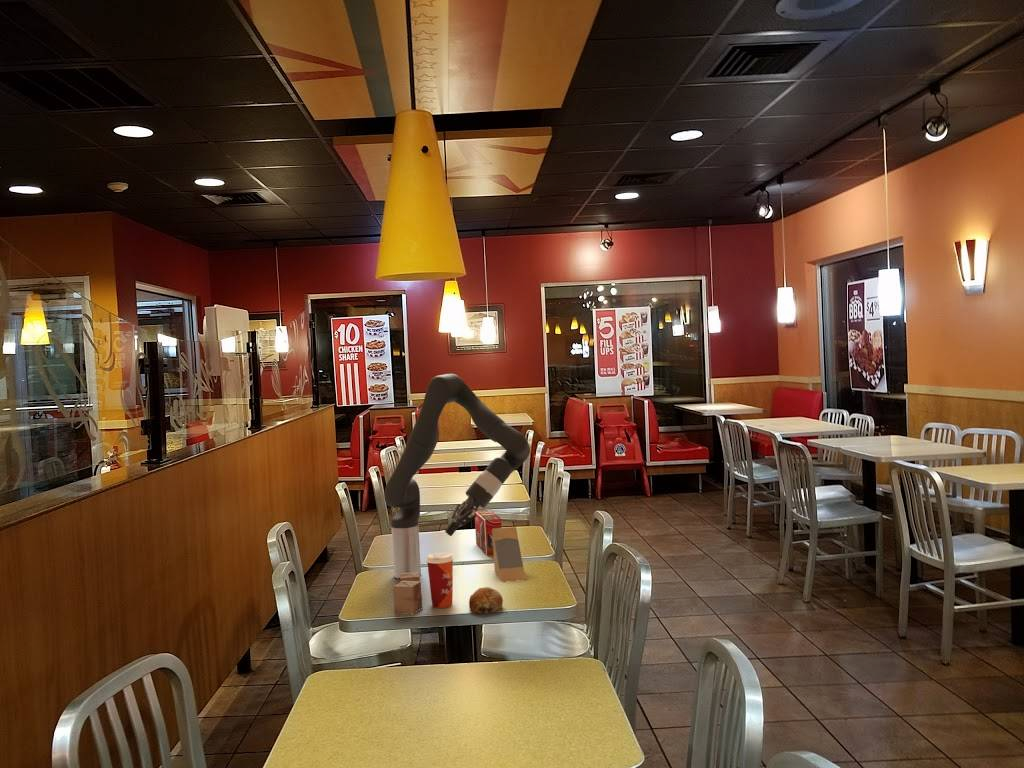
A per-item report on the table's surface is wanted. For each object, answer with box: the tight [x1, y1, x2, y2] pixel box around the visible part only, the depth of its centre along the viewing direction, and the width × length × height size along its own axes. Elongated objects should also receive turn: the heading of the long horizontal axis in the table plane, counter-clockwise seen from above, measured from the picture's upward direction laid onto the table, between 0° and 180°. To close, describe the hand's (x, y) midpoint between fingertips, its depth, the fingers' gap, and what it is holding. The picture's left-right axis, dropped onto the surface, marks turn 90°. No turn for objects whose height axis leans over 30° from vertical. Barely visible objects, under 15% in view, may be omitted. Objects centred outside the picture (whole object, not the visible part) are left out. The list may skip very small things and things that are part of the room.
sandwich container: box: [492, 526, 527, 583], centre depth 275 cm, size 9×15×15 cm, turn 10°
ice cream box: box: [474, 509, 503, 556], centre depth 316 cm, size 20×6×13 cm, turn 13°
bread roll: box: [468, 586, 504, 614], centre depth 240 cm, size 10×10×8 cm
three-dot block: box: [393, 580, 423, 614], centre depth 242 cm, size 6×6×8 cm
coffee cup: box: [425, 552, 455, 609], centre depth 245 cm, size 8×8×15 cm
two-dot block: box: [399, 572, 421, 583], centre depth 252 cm, size 6×6×8 cm
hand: (447, 533), depth 246 cm, fingers closed
